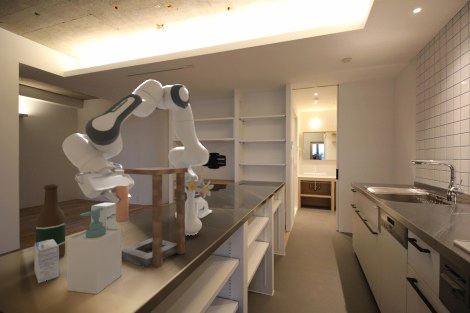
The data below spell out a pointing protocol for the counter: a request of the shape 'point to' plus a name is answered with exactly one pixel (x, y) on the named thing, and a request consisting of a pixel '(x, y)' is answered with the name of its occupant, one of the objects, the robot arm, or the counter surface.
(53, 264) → the medicine box
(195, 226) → the flower vase
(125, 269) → the counter surface
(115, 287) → the counter surface
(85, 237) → the soap bottle
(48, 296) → the counter surface
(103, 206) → the supplement box
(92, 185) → the robot arm
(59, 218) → the beer bottle
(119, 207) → the peg
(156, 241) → the brown wooden tall frame
